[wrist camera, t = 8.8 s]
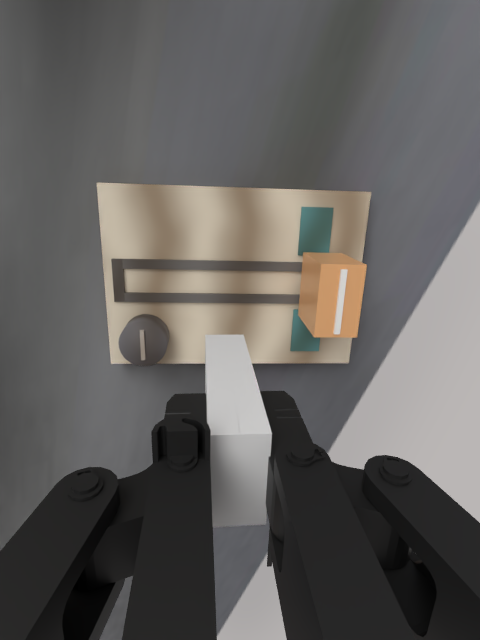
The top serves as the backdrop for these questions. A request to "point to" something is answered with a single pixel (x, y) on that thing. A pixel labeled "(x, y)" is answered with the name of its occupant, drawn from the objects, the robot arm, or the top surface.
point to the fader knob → (331, 294)
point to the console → (219, 268)
